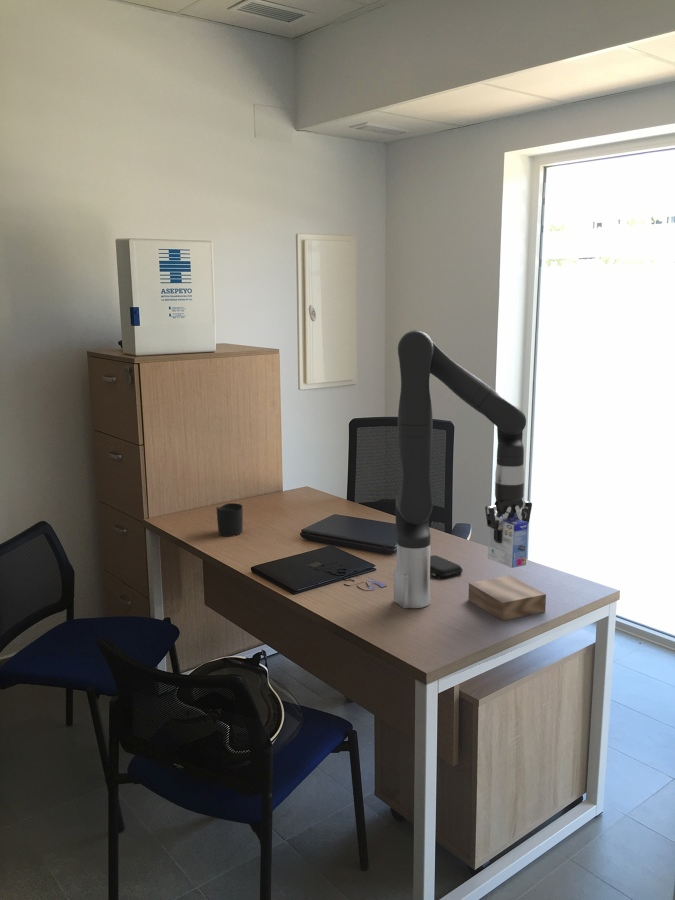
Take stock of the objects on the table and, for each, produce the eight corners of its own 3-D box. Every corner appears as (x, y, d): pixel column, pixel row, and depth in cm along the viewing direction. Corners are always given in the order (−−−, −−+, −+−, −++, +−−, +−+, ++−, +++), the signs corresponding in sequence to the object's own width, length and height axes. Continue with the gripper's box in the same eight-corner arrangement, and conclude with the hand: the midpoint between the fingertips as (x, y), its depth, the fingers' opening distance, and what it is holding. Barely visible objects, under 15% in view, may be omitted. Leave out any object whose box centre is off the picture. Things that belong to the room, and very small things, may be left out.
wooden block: (502, 620, 204) (502, 602, 203) (468, 599, 218) (468, 582, 217) (545, 611, 209) (545, 594, 208) (509, 591, 223) (510, 575, 223)
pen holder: (245, 535, 279) (244, 509, 278) (218, 537, 277) (217, 511, 275) (241, 528, 288) (240, 502, 286) (216, 530, 286) (215, 504, 284)
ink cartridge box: (527, 565, 208) (529, 513, 205) (512, 569, 205) (513, 516, 203) (501, 555, 217) (503, 505, 214) (487, 559, 214) (488, 508, 211)
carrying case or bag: (408, 568, 245) (438, 582, 233) (408, 559, 244) (438, 572, 232) (435, 561, 250) (465, 575, 238) (435, 552, 250) (465, 565, 238)
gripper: (495, 486, 200) (493, 548, 204) (540, 480, 206) (538, 541, 209) (478, 480, 207) (477, 540, 210) (522, 474, 213) (520, 533, 216)
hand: (507, 540), depth 210 cm, fingers closed on ink cartridge box, 5 cm apart
